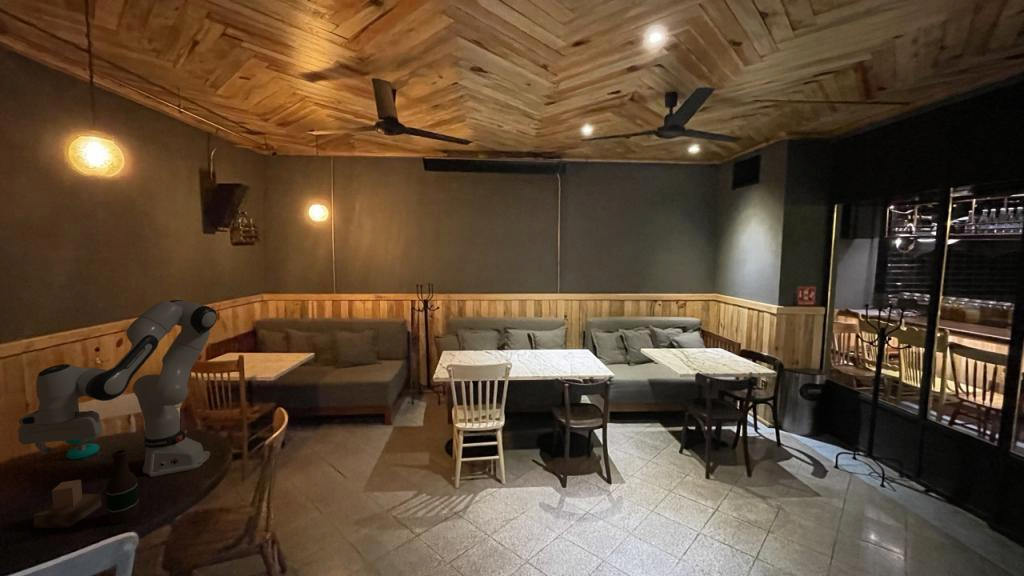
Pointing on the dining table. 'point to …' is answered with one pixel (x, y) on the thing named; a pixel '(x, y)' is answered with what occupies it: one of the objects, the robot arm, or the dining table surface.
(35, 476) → the dining table surface
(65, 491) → the terracotta block
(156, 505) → the dining table surface
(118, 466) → the beer bottle
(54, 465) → the dining table surface
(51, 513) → the walnut block
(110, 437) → the dining table surface
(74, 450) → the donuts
